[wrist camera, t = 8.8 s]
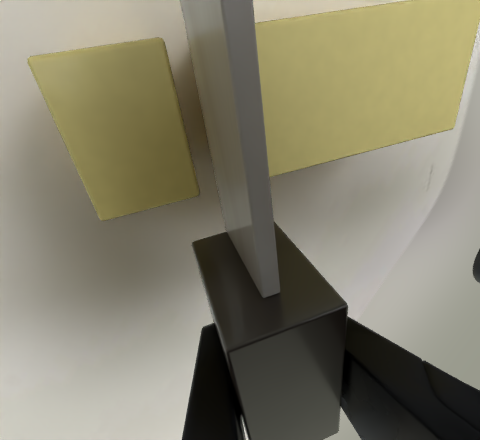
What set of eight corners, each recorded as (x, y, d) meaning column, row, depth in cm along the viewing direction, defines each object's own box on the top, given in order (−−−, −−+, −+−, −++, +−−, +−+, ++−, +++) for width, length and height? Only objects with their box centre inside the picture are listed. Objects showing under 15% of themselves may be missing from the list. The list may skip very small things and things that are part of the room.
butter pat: (155, 45, 8) (163, 36, 6) (184, 163, 10) (201, 197, 7) (61, 60, 8) (23, 57, 5) (110, 181, 9) (100, 223, 7)
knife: (222, 352, 10) (257, 472, 7) (107, -54, 5) (54, -269, 2) (283, 330, 11) (339, 432, 8) (243, -65, 5) (393, -250, 2)
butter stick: (397, 8, 10) (489, -13, 7) (384, 115, 11) (455, 129, 9) (196, 39, 8) (222, 27, 6) (218, 155, 10) (245, 185, 8)
